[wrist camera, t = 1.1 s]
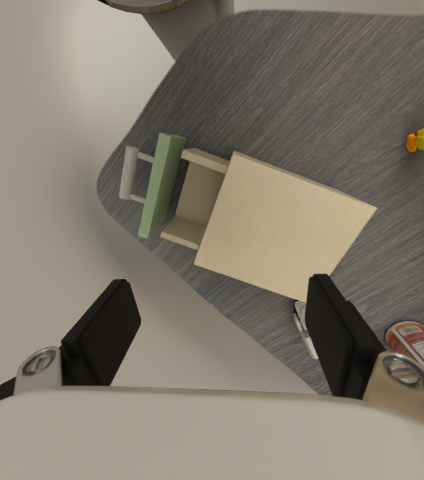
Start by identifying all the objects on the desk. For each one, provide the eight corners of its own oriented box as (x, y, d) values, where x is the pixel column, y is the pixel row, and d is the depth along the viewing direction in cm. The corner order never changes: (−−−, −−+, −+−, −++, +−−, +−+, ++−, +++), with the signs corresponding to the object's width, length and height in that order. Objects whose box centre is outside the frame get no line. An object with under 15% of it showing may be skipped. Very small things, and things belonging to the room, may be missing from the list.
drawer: (130, 206, 31) (102, 224, 25) (145, 122, 26) (116, 116, 20) (243, 246, 32) (245, 273, 26) (277, 172, 27) (291, 182, 21)
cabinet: (203, 233, 33) (193, 264, 25) (233, 150, 28) (233, 153, 19) (290, 264, 34) (309, 304, 26) (336, 189, 28) (377, 208, 20)
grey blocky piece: (288, 302, 39) (312, 364, 34) (285, 297, 33) (312, 370, 29) (322, 293, 38) (351, 356, 33) (324, 285, 32) (360, 361, 27)
